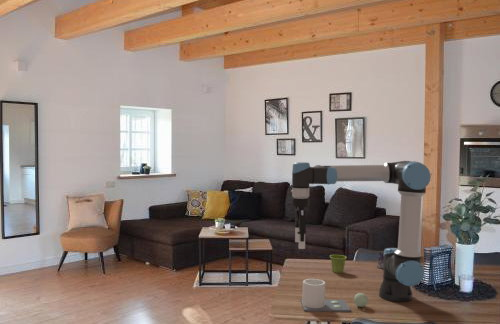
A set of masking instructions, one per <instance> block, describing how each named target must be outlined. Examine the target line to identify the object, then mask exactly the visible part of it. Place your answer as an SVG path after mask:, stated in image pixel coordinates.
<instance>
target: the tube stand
mask: <svg viewBox="0 0 500 324" xmlns="http://www.w3.org/2000/svg"><path fill="white" fill-rule="evenodd" d="M300 303H301V306H302V310H303V311H304V312H334V313H335V312H336V313H337V312H338V313H339V312H345V313H348V312H349V313H350V312H351V307H349V305H348V304H347V301H346V300H345V299H326V281H324V280H323V279H317V278H307V279H304V280H302V298H300Z"/></svg>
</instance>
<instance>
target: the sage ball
mask: <svg viewBox="0 0 500 324" xmlns="http://www.w3.org/2000/svg"><path fill="white" fill-rule="evenodd" d="M353 297H354V298H353V301H354V304H355V305H356V306H357V307H358V308H364V307H366V306H367V305H368V302H369V298H368V296H367V295H366V294H365V293H363V292H358V293H356V294H355V295H354V296H353Z"/></svg>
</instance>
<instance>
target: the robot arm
mask: <svg viewBox="0 0 500 324" xmlns="http://www.w3.org/2000/svg"><path fill="white" fill-rule="evenodd" d="M291 173H292V174H291V176H292V177H291V179H292V182H291V186H292V187H291V190H290V192H291V194H292V195H291V196H292V198H291V206H292V207H295V217H294V220H295V221H294V230H295V231H294V232H295V233H294V243H298V250H305V249H306V234H307V229H306V228H307V227H306V210H305V208H308V207H310V198H309V197H310V185H335V184H337V182H384V184H392V185H397V192H398V193H399V194H400V206H399V207H400V210H399V223H398V239H397V247H387V248H384V250H383V254H384V255H383V256H384V269H382V271H383V275H382V276H383V277H382V282H381V284H380V287H379V290H378V296H379V297H380V298H382V299H384V300H386V301H387V300H388V301H391V302H398V303H399V302H401V303H403V302H411V301H412V300H413V291H412V288H411V287H413V286H416V285H418V284H419V283H421V282H422V281H423V279H424V277H425V269H424V266H423V265H422V253H421V252H420V251H419V243H420V242H419V241H420V228H421V225H420V224H421V213H422V212H421V211H422V198H423V196H425V195H426V193H427V192H426V190H427V186H428V185H429V183H430V182H431V176H432V175H431V172H430V169H429V168H428V167H427V166H426V165H425V164H423V163H422V162H419V161H415V160H414V161H411V160H402V161H396V162H395V161H394V162H385V163H384V164H367V165H366V164H359V165H354V164H353V165H352V164H351V165H350V164H349V165H347V164H346V165H345V164H344V165H320V164H319V165H318V164H317V165H314V166H311V164H310V162H307V161H306V162H302V161H301V162H300V161H299V162H297V161H296V162H294V163H293V164H292V171H291Z"/></svg>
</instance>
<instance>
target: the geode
mask: <svg viewBox="0 0 500 324" xmlns="http://www.w3.org/2000/svg"><path fill="white" fill-rule="evenodd" d="M383 255H384V253H382V252H379V253H378V258H377V265H376V267H377V269H379V270H383V269H384V256H383Z"/></svg>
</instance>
